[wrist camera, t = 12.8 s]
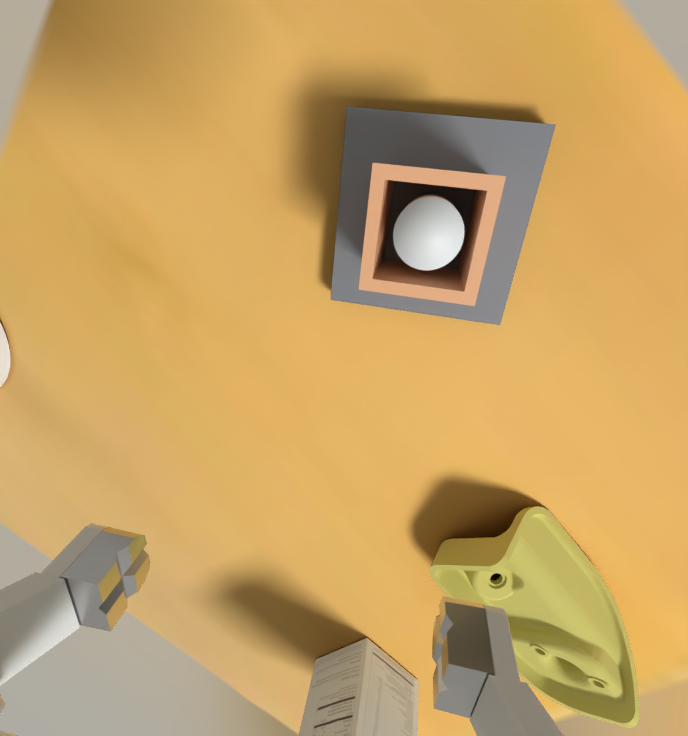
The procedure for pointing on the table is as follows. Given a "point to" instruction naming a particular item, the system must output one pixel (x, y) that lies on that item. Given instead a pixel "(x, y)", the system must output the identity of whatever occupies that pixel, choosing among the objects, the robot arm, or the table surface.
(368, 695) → the supplement box
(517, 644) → the plastic component
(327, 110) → the table surface
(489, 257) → the base
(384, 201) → the sleeve
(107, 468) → the table surface
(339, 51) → the table surface
